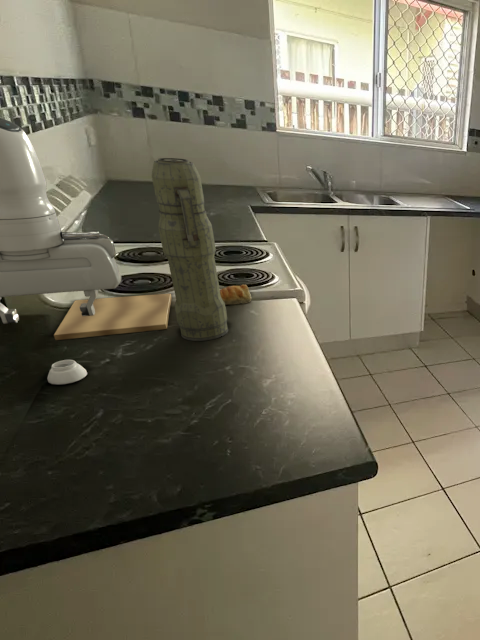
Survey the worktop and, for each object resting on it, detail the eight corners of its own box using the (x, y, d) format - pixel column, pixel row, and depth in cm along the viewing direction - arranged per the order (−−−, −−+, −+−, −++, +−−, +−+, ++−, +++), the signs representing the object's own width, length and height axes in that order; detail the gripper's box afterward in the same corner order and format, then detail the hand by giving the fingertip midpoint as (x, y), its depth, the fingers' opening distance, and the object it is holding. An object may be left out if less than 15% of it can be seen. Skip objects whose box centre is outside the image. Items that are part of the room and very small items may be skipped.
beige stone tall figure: (217, 319, 108) (189, 156, 94) (238, 336, 101) (211, 163, 87) (172, 327, 102) (135, 155, 88) (190, 347, 95) (153, 163, 81)
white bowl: (94, 376, 82) (76, 369, 84) (89, 361, 81) (71, 354, 83) (60, 389, 78) (41, 381, 80) (54, 373, 77) (36, 365, 78)
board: (55, 340, 92) (53, 334, 92) (76, 305, 108) (75, 300, 107) (166, 329, 101) (165, 324, 101) (171, 297, 117) (170, 293, 116)
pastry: (211, 308, 113) (208, 293, 111) (205, 300, 117) (202, 285, 116) (254, 302, 119) (252, 288, 117) (246, 294, 123) (244, 280, 122)
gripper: (113, 226, 78) (133, 304, 84) (-66, 230, 68) (-29, 318, 74) (107, 235, 73) (129, 317, 79) (-87, 241, 64) (-45, 334, 69)
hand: (51, 318), depth 77 cm, fingers open, 8 cm apart
